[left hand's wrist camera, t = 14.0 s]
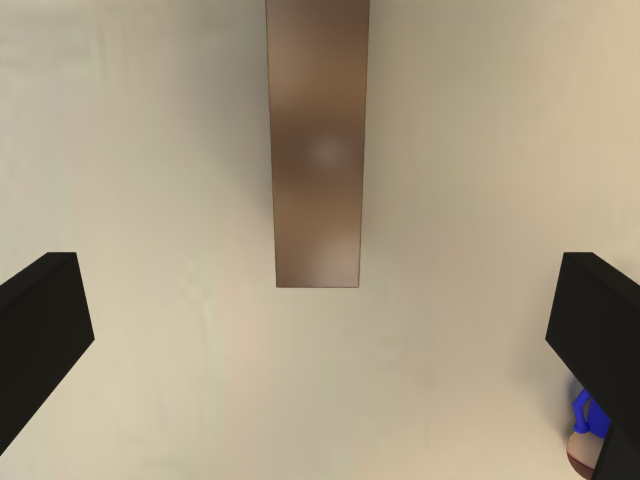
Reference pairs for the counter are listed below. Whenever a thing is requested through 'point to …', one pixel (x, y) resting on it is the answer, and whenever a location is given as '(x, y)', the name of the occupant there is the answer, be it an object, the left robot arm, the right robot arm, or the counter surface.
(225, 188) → the counter surface
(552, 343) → the left robot arm
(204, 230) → the counter surface
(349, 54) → the bar
